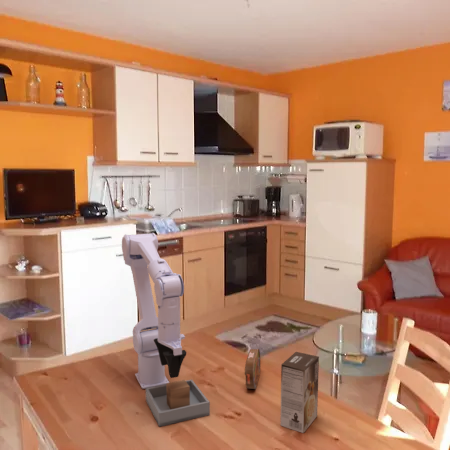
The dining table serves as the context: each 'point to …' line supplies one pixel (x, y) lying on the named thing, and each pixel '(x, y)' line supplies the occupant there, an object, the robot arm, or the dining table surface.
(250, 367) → the tin
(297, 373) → the coffee box
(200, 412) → the bin
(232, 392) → the dining table surface
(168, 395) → the block
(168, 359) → the robot arm
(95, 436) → the dining table surface
